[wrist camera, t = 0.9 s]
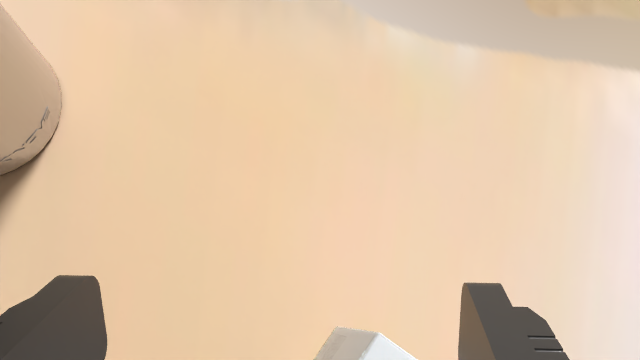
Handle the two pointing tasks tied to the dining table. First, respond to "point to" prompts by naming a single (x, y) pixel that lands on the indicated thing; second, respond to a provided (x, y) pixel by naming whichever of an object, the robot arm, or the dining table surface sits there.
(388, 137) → the dining table surface
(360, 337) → the skincare box
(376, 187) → the dining table surface
